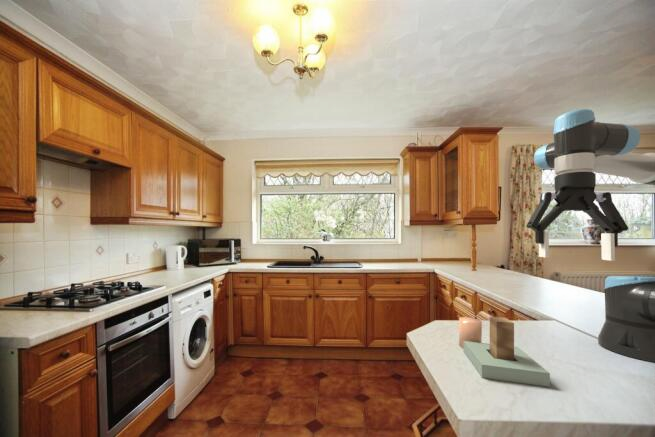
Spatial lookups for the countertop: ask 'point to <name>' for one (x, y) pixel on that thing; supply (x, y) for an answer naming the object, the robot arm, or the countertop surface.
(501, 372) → the bore plate
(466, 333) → the round peg
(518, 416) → the countertop surface
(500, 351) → the square peg
